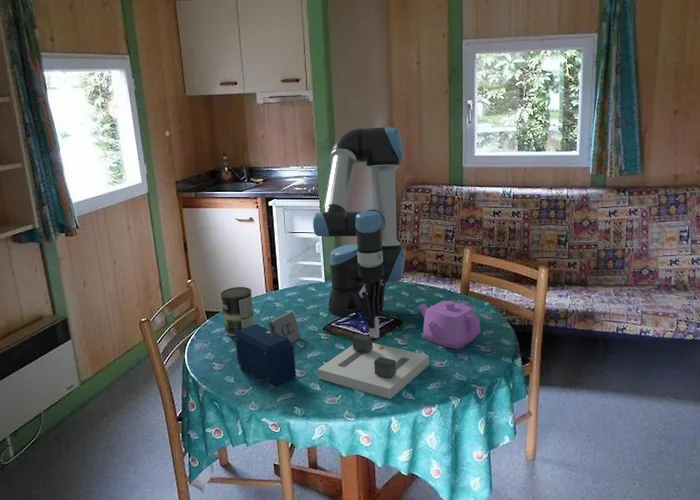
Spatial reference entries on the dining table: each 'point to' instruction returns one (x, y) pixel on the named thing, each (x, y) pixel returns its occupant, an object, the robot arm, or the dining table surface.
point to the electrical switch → (286, 326)
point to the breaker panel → (373, 369)
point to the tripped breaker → (362, 343)
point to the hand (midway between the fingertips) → (374, 336)
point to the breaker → (385, 367)
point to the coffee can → (237, 309)
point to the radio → (265, 354)
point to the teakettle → (450, 324)
